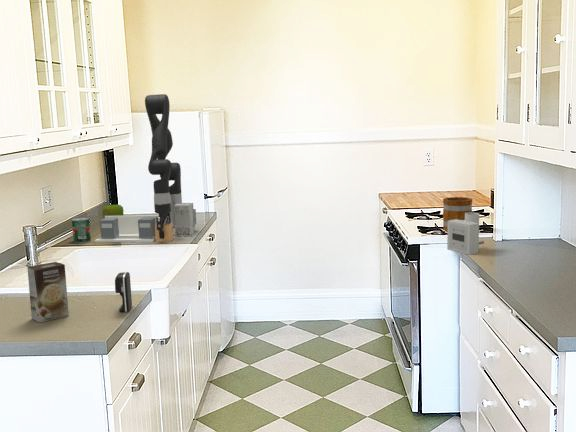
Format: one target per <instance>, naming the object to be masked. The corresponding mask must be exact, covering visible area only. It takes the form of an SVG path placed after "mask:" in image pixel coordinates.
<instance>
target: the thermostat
mask: <svg viewBox="0 0 576 432" xmlns="http://www.w3.org/2000/svg"><path fill="white" fill-rule="evenodd" d="M446 235H447V238H446V239H447V240H446V241H447V246H446V249H447V250H448V251H453V252H456V253H459V254H465V255H468V256H470V255H471V256H472V255H476V254H478V253H479V250H480V249H479V247H480V245H484V244H485V242H484V241H483V240H481V241H480V240H479V239H480V213H479V212H472V213H465V220H457V219H455V220H449V221H448V232H447V233H446Z"/></svg>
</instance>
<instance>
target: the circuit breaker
mask: <svg viewBox="0 0 576 432" xmlns="http://www.w3.org/2000/svg"><path fill="white" fill-rule="evenodd" d="M174 207H175V208H174V214H175V227H174V234H175V237H191V236H193V235H194V234H195V232H196V230H195V225H196V224H197V209H196V208H194V203H193V202H182V203H177V204H176V205H174Z"/></svg>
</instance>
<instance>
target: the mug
mask: <svg viewBox="0 0 576 432" xmlns="http://www.w3.org/2000/svg"><path fill="white" fill-rule="evenodd" d="M442 201H443V208H442V209H443V210H442V220H443V223H442V224H443V225H442V231H443V230H445V231H446V233H448V221H449V220H455V219H457V220H465V213H473V209H472V208H473V198H470V197H463V196H461V197H460V196H454V197H452V196H451V197H444V198H443V199H442ZM445 231H444V232H445Z"/></svg>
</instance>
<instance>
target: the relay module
mask: <svg viewBox="0 0 576 432" xmlns="http://www.w3.org/2000/svg"><path fill="white" fill-rule="evenodd" d="M155 235H156V240H155V243H161V242H162V243H167V242H169V243H170V242H172V241H174V240H173V239H174V227H173V223H166V226H165V227H164V239H160V238H159V231H158V230H157V224H156V225H155Z"/></svg>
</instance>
